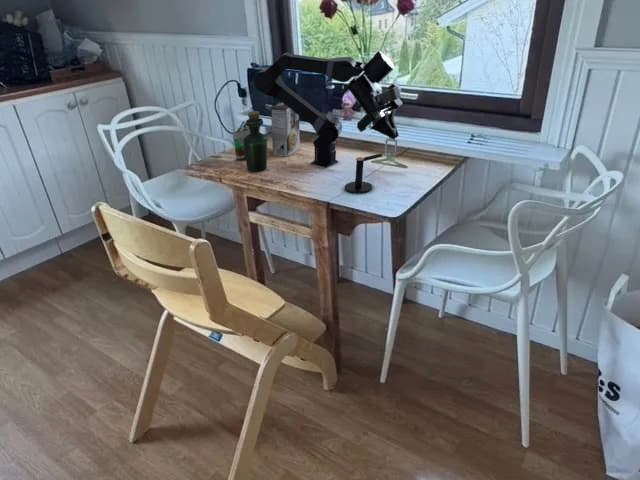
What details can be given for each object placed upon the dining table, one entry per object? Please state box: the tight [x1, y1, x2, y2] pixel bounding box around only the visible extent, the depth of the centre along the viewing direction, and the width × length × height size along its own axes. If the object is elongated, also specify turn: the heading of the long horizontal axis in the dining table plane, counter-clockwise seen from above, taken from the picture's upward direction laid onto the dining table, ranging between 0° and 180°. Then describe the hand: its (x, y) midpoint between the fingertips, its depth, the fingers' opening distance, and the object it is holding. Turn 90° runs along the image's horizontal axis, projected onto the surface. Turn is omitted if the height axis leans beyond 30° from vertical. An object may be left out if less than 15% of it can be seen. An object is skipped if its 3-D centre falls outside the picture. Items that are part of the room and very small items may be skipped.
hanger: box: [370, 128, 409, 170], centre depth 158 cm, size 1×12×11 cm, turn 50°
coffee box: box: [270, 101, 301, 158], centre depth 180 cm, size 9×6×16 cm
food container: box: [232, 122, 250, 162], centre depth 182 cm, size 12×6×10 cm, turn 160°
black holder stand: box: [344, 152, 384, 195], centre depth 151 cm, size 8×12×9 cm
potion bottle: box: [243, 110, 269, 173], centre depth 169 cm, size 8×8×18 cm
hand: (396, 137), depth 156 cm, fingers closed on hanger, 1 cm apart
